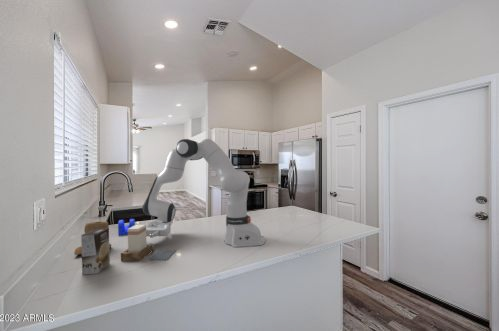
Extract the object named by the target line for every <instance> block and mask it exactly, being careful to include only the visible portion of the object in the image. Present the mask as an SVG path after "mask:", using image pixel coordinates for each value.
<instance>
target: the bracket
mask: <svg viewBox="0 0 499 331" xmlns="http://www.w3.org/2000/svg"><path fill="white" fill-rule="evenodd" d="M128 222H129V224H127V225H125V220H124V219H119V220H118V223H117V231H118V233H117V234H118V236H128V229H129V228H131V227H133V226H135V225H136V220H135V218H130V219H129V221H128Z"/></svg>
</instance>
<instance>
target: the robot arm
mask: <svg viewBox="0 0 499 331" xmlns="http://www.w3.org/2000/svg"><path fill="white" fill-rule="evenodd" d="M201 159H204V160H205V161H206V163H208V165H209V166H210V168H212V170H213V171H214V172H215V174H216V176H217V178H218V179H219V184H220V187H221V189H222V190H223V191H225V192H228V193H229V194H228V198H227V200H226V216H225V217H226V218H225V225H226V231H225V232H226V234H225V237H224V243H225V244H227V245H229V246H231V247H233V248H242V247H244V248H245V247H254V246H255V247H256V246H262V245H264V244H265V243H266V237H265V236H264V235H262V233H261V229H260V227H258V226H257V225H256V224H254V223H252V222H251V221H252V218H251V216H250V215H248V214H247V213H248V212H247V209H248V208H247V206H248V205H247V201H248V193H249V192H248V191H249V186H250V183H251V182H250V181H251V180H250V175H249V174H248V173H247V172H245V171H243V170H236V168H235V166H234V165H233V163H232V159H231V158H230V157H229V156H228V155H227V153H226V152H225V151H224V150H223V149H222V148H221V146H219V145H218V144H217V143H216V142H215V141H214V140H212V139H210V138H205V139H203V140H202V141H200V142H198V141H195V140H193V139H188V138H183V139H180V140H179V141H178V142H177V143H176V145H175V148H174V149H171V150H170V151H169V154H168V155H167V158H166V162H165V165H164V169H163V170H162V171H161V172H159V173H158V174H156V176H155V178H154V181H153V182H152V185H151V187H150V190H149V192H148V195H147V197H146V199H145V200H144V203H143V204H142V211H143V213H144V214H145V215H146V216H152V217H157V218H156V219H153V220H151V221H150V222H148V223H147V224H146V237H149V238H156V237H167V236H169V235H171V226H172V224H173V222H174V218H175V215H176V213H177V212H176V211H177V208H176V206H175V204H174V203H173V202H169V201H164V200H160V199H157V198H158V195H159V192H160V190H161V187H162V186H163V185H165V184H168V183H176V182H178V181H180V180H181V179H182V178H183V176H184V172H185V167H186V163H187V162H188V161H199V160H201Z"/></svg>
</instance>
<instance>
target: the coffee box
mask: <svg viewBox="0 0 499 331" xmlns="http://www.w3.org/2000/svg"><path fill="white" fill-rule="evenodd" d="M109 230H110V228H104V229H94V230H92V231H89V232H87V233H85V232H84V233H82V234H81V235H80V236H81V237H80V238H81V241H80V242H81V246H82V254H81V275H82V276H83V275H97V274H99V273H101V272H102V271H103V270H104V269H105V268H107V267H108V266H109V265H110V264H111V263H110V262H111V261H110V260H111V259H110V248H109V244H110V231H109Z"/></svg>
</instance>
